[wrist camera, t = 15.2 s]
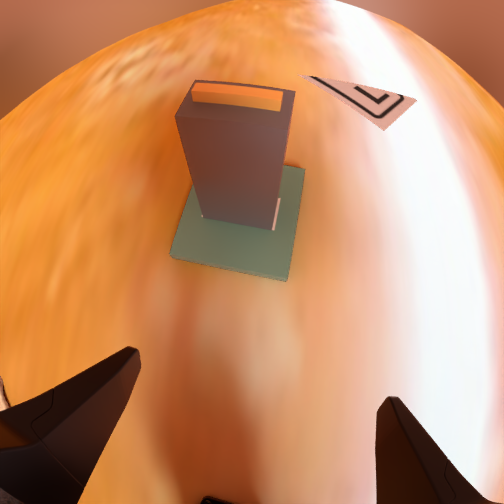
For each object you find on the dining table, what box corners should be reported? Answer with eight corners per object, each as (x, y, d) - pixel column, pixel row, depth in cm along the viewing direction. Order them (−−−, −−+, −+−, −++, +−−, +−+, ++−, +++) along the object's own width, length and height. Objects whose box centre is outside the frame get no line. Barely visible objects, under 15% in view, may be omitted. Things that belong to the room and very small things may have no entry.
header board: (286, 281, 24) (292, 266, 21) (172, 257, 25) (159, 239, 21) (303, 175, 28) (310, 149, 25) (206, 158, 29) (201, 132, 25)
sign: (383, 130, 31) (222, 39, 39) (383, 131, 31) (222, 40, 39) (416, 100, 34) (271, 21, 42) (416, 101, 34) (271, 22, 42)
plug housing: (271, 230, 25) (289, 118, 13) (203, 217, 25) (171, 105, 13) (278, 196, 26) (297, 80, 14) (213, 185, 26) (193, 69, 14)
